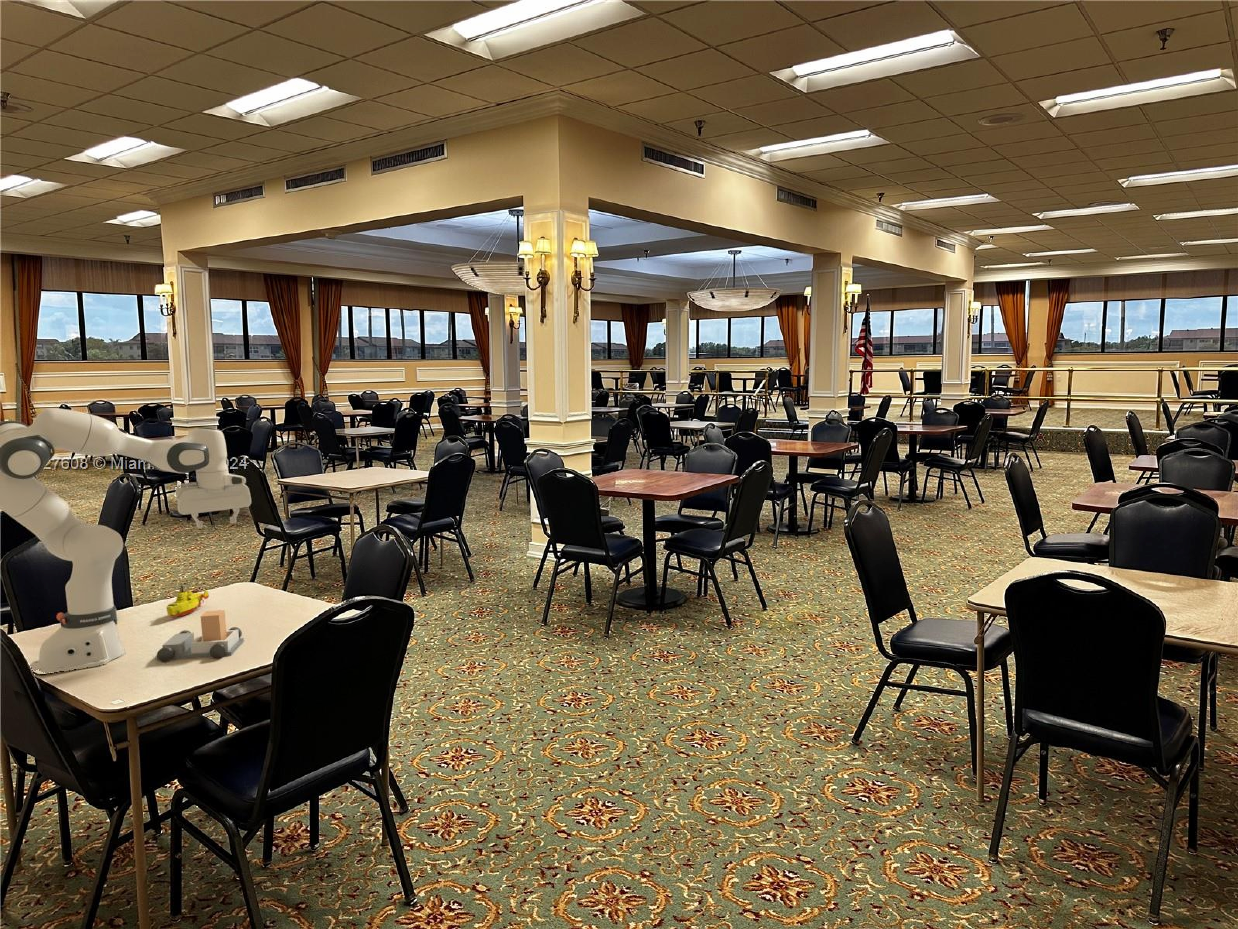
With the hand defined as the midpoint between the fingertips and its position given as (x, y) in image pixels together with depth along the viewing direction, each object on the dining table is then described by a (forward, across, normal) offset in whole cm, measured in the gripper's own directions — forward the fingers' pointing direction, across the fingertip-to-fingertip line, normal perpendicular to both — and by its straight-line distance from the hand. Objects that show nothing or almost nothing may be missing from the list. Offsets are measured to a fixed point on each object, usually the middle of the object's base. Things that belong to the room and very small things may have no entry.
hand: (216, 525), depth 252 cm
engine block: (+33, -7, -14) cm, 37 cm away
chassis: (+34, -10, -12) cm, 37 cm away
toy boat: (+34, -4, +32) cm, 47 cm away
